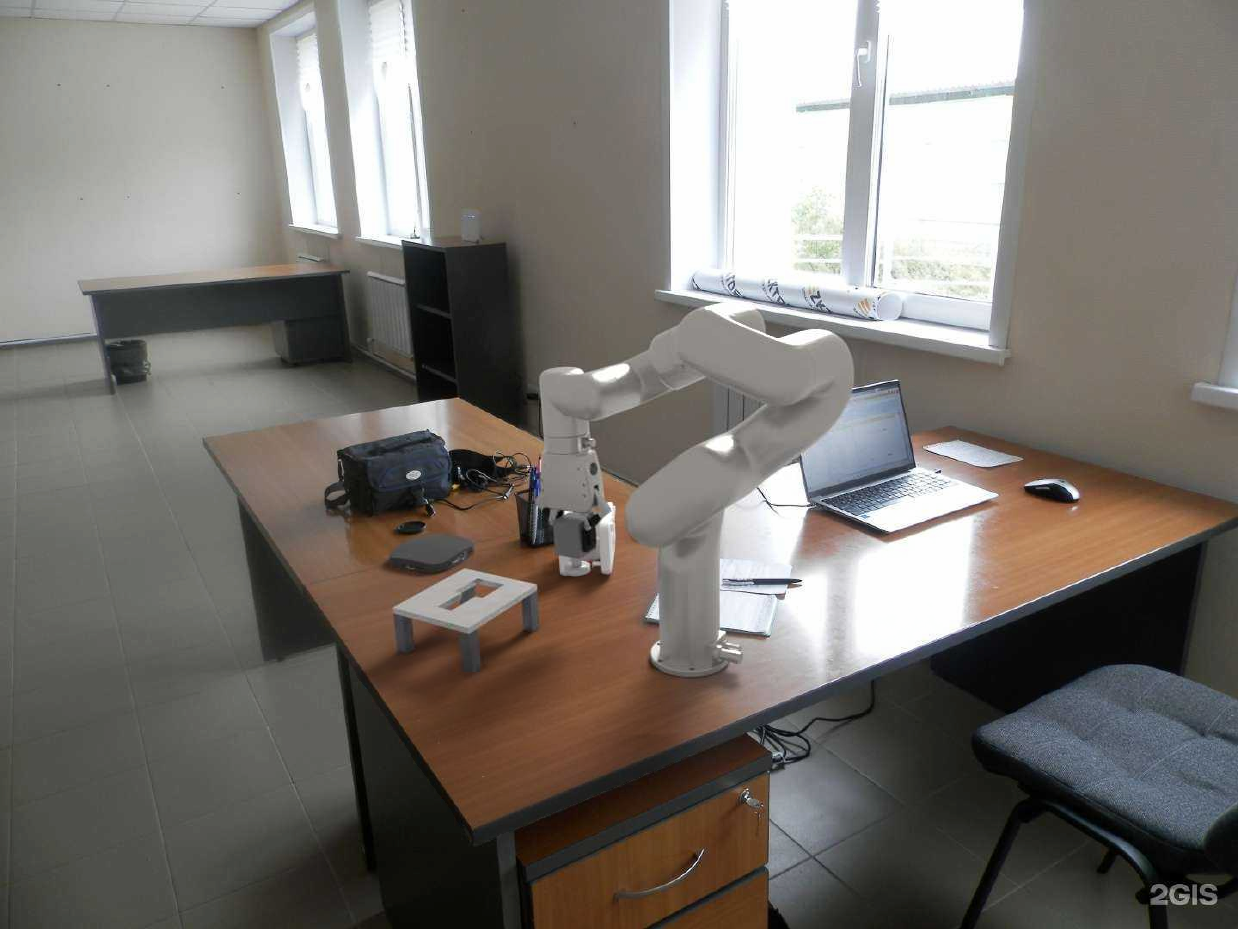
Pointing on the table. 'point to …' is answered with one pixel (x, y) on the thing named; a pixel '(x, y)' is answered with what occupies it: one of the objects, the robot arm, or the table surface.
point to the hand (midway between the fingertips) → (575, 546)
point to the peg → (571, 543)
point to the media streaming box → (431, 553)
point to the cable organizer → (600, 544)
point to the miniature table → (465, 610)
